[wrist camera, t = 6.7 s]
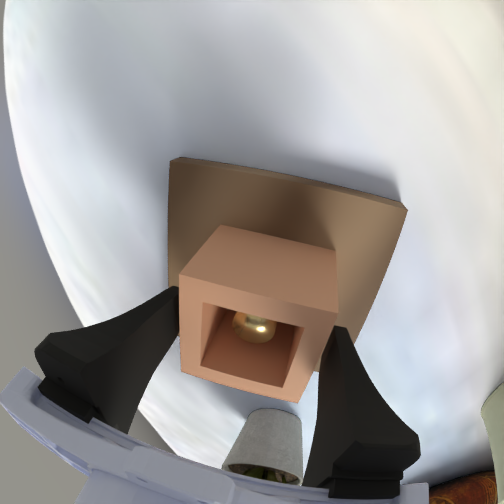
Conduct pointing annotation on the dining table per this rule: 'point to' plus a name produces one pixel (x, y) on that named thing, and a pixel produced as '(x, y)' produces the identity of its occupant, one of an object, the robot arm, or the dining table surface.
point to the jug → (466, 490)
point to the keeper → (285, 229)
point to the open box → (257, 311)
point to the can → (496, 434)
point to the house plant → (268, 448)
